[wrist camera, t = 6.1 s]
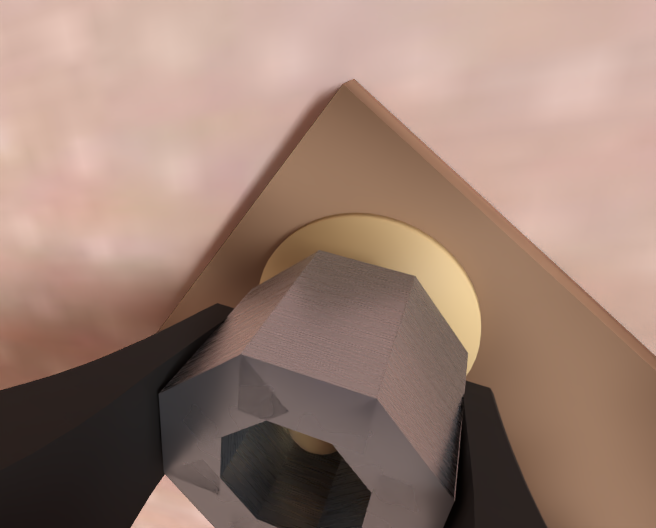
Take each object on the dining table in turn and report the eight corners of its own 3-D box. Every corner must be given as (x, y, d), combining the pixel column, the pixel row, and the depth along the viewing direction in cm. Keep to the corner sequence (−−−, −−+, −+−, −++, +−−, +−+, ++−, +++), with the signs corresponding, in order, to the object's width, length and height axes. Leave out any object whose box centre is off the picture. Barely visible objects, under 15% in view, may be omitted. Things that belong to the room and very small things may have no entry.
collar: (428, 461, 13) (404, 617, 10) (245, 397, 14) (166, 518, 11) (489, 295, 10) (484, 433, 7) (255, 232, 11) (153, 325, 8)
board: (499, 614, 20) (500, 813, 15) (160, 334, 18) (37, 452, 13) (834, 520, 13) (1028, 815, 8) (354, 79, 12) (253, 126, 7)
